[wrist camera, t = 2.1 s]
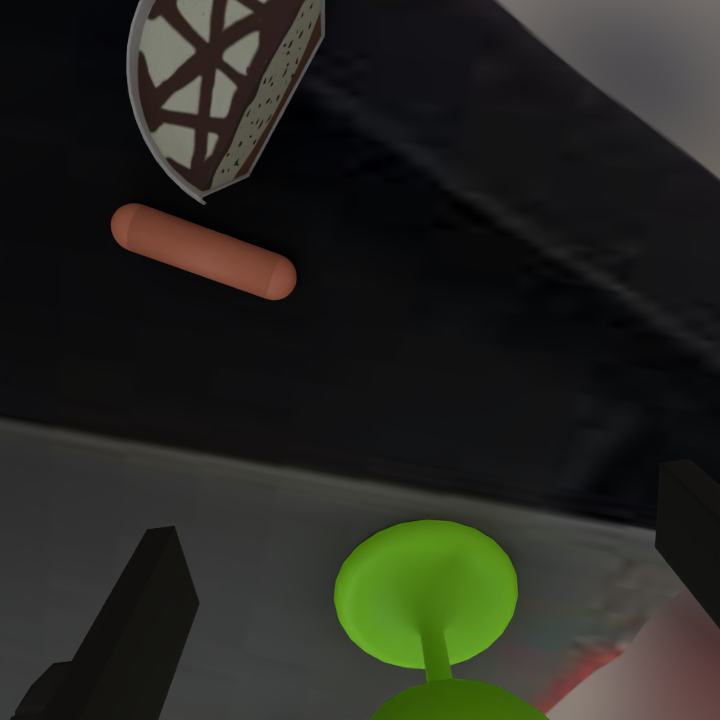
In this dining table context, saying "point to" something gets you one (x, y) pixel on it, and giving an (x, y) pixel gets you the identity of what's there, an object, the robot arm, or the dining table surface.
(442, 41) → the dining table surface
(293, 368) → the dining table surface
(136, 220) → the sausage
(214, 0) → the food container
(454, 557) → the wineglass
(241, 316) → the dining table surface
